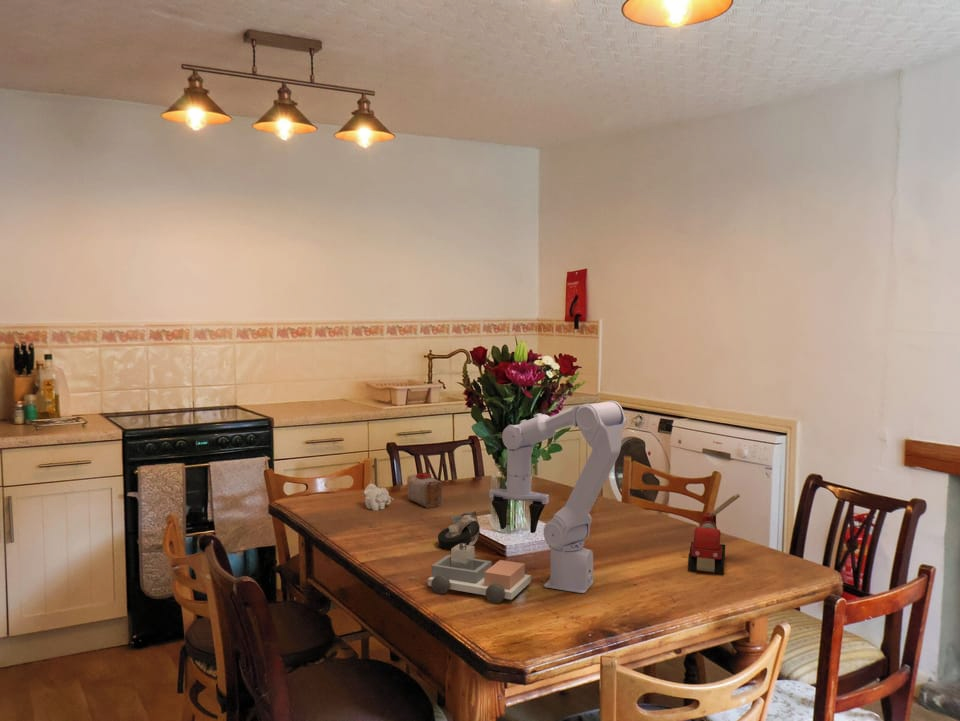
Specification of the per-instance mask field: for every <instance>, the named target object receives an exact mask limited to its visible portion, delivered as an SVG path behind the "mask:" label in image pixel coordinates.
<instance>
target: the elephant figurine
mask: <svg viewBox="0 0 960 721" xmlns="http://www.w3.org/2000/svg"><path fill="white" fill-rule="evenodd" d="M364 495H365V496H366V497H364V498H365V505H366V508H367V509H369V510H370V509H371V510H372V511H374V512H376V511H379V510H384V509H385V507H386V506H385V505H387V506H388V505H390V503H391V501H392V500H393V501H395V499H394V498H393V497H392V496H390V494H389V491H388V490H387V488H385V487H381V488H380V487H377V485H376V484H374V483H369V484H368V485H367V486H366V487H365V489H364Z"/></svg>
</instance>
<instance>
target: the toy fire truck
mask: <svg viewBox="0 0 960 721" xmlns="http://www.w3.org/2000/svg"><path fill="white" fill-rule="evenodd" d="M740 497H741V496H740V493H735V494H733V495H732V496H731V497H729V498H728V499H727V500H725V501H724V502H723V503H722V504H720V505H719V506H718V507H716V508H715V509H714V510H713V511H711V512H706V513H704V514H702V517H701V524H700V527H699V526H698V527H695V528H694V533H693V541H691V542H690V548H689V553H688V557H687V559H688V560H687V570H688V571H693V572H697V571H700V572H708V573H714V574H719V575H720V574H721V575H724V574H725V573H724V572H725V561H726V544H722V543H721V534H722V533H721V529H718V527H717V515H718V514H720V512H722V511H723V510H724V509H726V508H727V507H728V506H730V505H731V504H732V503H734V502H735V501H736V500H738V499H739V498H740Z"/></svg>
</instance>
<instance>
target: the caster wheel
mask: <svg viewBox="0 0 960 721" xmlns="http://www.w3.org/2000/svg"><path fill="white" fill-rule="evenodd" d="M450 519H451V525H448V526H447V527H446V528H444V529H443V530H440V532H439V533H438V534H437V539H438V545H439V547H440V549H442V550H444V551H451V549H452V548H453V547H455V546H456V545H458V544H460V543H466V545H469V546H474V545H475V544H476V542H477V541H478V538H479V535H480V534H481V530H480V528H481V527H480V523H479V521H478V516H477V511H476V510H472V511H469V512H465V513H460V514H457V515H456V514H455V515H452V516H451V517H450ZM479 533H480V534H479Z"/></svg>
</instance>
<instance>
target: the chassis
mask: <svg viewBox="0 0 960 721" xmlns="http://www.w3.org/2000/svg"><path fill="white" fill-rule="evenodd" d="M525 565H526V563H523V562H516V561H509V560H503V559H499V560H498V561H496V563H494V564H493V565H492V560H487V559H486V560H485V559H479V558H475V560H474V570H468V569H461V568H455V567H451V554H447V555H446V556H443V557H442V558H441V559H439V560H438V561H436V562H435V563H433V564H432V565H431V576H430V577H428V579H427V586H429V587H431V588H432V590H433V591H434V592H435V593H436V594H439V595H444V594H445V593H447V592H448V591H449V590H453V591H459V592H464V593H470V594H471V593H472V594H475V595H482V596H485V597H486V599H487V600H488V601H489V602H490V603H492V604H496V605H497V604H499V603H501V602H502V601H503V600H505V599H506V600H511V601H512V600H513V599H514V598H515V597H516V596H517V595H518V594H520V592H521V591H523V589H525V588H526V587H527V586H528V585H529V584H530V583H532V575H531V574H527V573H528V572H527V571H526V569H525V568H526V566H525Z"/></svg>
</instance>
